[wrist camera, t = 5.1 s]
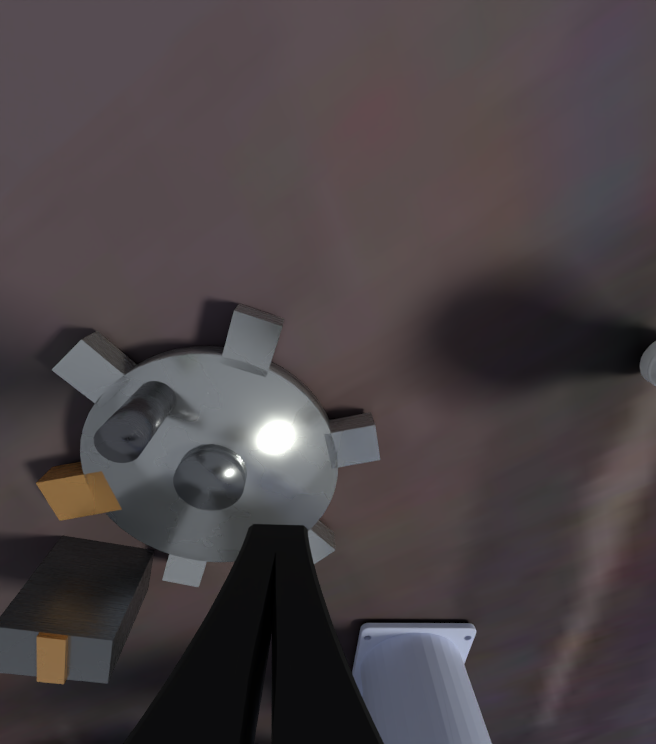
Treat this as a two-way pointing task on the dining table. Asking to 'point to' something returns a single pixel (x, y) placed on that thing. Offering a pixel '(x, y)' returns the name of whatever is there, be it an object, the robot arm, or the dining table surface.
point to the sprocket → (204, 446)
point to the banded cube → (75, 612)
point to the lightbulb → (649, 364)
